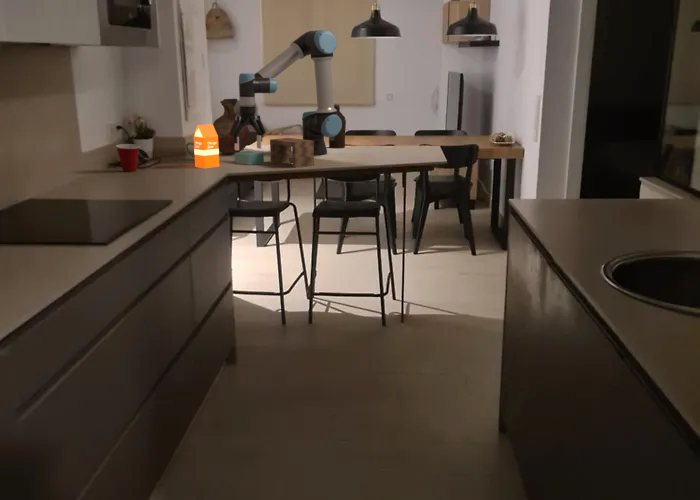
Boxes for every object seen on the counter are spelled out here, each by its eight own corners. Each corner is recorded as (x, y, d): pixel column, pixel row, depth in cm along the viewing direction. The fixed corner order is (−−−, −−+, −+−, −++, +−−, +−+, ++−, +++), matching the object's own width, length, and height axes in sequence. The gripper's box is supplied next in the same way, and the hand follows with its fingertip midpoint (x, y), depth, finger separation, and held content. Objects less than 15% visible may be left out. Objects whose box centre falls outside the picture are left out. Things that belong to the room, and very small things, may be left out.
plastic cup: (128, 173, 309) (125, 147, 306) (112, 171, 315) (110, 145, 312) (147, 170, 318) (145, 144, 315) (131, 168, 324) (129, 143, 320)
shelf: (289, 161, 349) (288, 137, 345) (314, 165, 335) (313, 140, 332) (270, 163, 340) (269, 139, 337) (295, 167, 327) (294, 142, 324)
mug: (210, 158, 361) (209, 139, 358) (217, 160, 352) (216, 140, 350) (183, 160, 353) (182, 140, 351) (189, 162, 345) (188, 142, 343)
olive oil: (339, 146, 416) (339, 104, 409) (349, 147, 408) (349, 104, 401) (324, 147, 410) (324, 104, 403) (334, 148, 402) (334, 105, 395)
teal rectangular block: (235, 162, 344) (234, 152, 343) (249, 161, 350) (249, 151, 349) (249, 165, 336) (248, 154, 335) (263, 163, 342) (263, 153, 341)
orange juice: (195, 166, 330) (192, 124, 325) (210, 164, 337) (207, 123, 331) (204, 168, 325) (202, 125, 320) (219, 166, 331) (217, 124, 326)
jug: (241, 150, 392) (239, 97, 384) (257, 155, 374) (255, 98, 366) (205, 153, 381) (202, 98, 373) (219, 157, 363) (216, 99, 355)
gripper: (262, 104, 347) (263, 147, 352) (221, 105, 330) (222, 150, 335) (272, 105, 342) (272, 148, 347) (230, 106, 325) (231, 151, 330)
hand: (248, 149), depth 341 cm, fingers open, 13 cm apart
